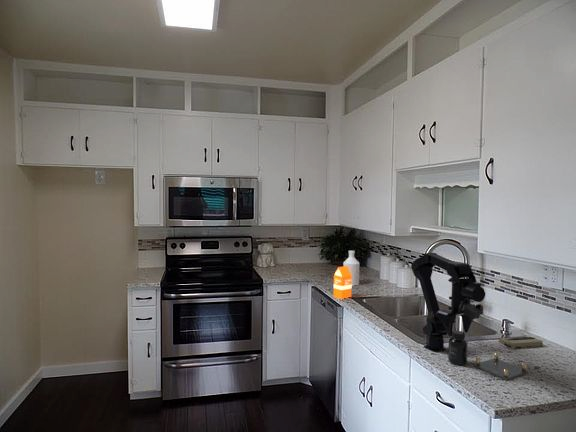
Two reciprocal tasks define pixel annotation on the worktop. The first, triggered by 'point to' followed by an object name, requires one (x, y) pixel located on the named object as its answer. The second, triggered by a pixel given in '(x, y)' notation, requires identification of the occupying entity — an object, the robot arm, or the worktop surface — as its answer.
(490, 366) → the chassis plate
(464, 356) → the supplement bottle
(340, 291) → the orange juice
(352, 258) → the bottle
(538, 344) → the olive rectangular tray
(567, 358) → the worktop surface
